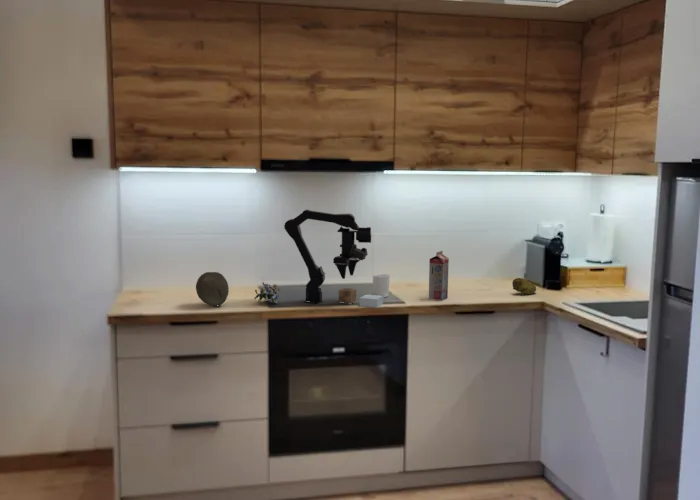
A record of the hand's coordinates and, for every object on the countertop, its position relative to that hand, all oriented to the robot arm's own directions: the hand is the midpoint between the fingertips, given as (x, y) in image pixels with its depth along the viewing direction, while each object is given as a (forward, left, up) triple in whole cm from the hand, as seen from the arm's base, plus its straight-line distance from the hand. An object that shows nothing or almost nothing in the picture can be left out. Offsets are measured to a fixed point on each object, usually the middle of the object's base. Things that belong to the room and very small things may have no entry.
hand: (347, 277), depth 294 cm
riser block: (+12, 0, -12) cm, 17 cm away
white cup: (+9, +20, -12) cm, 25 cm away
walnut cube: (0, 0, -12) cm, 12 cm away
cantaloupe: (-50, -31, -12) cm, 60 cm away
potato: (+70, +54, -12) cm, 89 cm away
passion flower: (-31, -17, -12) cm, 38 cm away
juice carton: (+35, +26, -12) cm, 45 cm away
